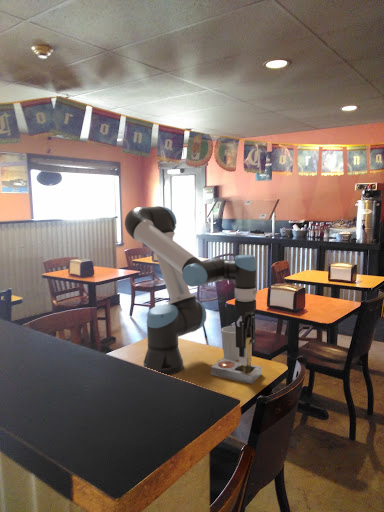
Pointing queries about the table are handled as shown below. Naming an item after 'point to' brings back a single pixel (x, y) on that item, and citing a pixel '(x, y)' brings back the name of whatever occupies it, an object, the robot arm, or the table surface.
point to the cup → (230, 343)
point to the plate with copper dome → (235, 371)
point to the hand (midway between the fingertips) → (245, 362)
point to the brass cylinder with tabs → (248, 345)
